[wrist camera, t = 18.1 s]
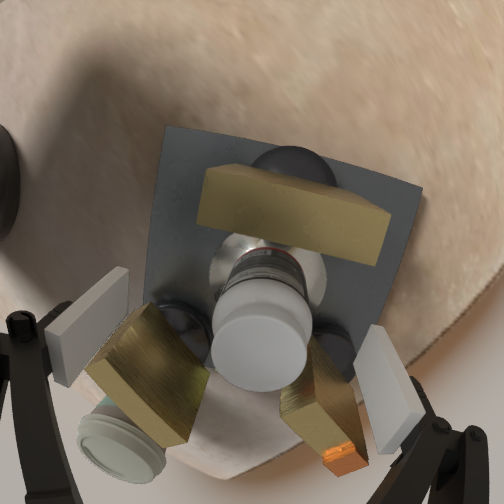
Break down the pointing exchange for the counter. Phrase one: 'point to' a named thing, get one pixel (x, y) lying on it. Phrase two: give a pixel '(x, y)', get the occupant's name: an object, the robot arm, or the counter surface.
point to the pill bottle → (262, 321)
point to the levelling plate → (235, 245)
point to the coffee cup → (119, 445)
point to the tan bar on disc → (327, 402)
